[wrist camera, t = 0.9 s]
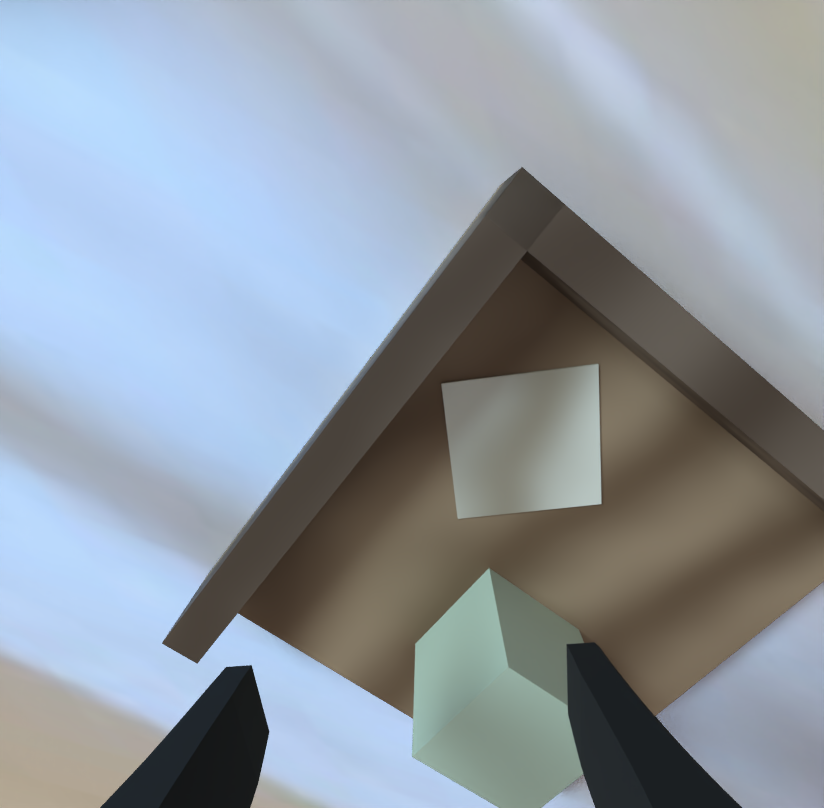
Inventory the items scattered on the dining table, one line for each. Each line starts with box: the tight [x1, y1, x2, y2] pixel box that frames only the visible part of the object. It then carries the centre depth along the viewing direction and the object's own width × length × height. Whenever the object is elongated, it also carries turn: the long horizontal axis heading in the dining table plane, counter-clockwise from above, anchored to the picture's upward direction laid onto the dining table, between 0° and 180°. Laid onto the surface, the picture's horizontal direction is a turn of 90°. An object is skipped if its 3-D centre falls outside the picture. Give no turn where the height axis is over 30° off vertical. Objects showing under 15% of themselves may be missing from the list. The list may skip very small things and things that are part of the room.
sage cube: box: [412, 568, 584, 808], centre depth 19 cm, size 5×5×5 cm
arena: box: [162, 167, 824, 718], centre depth 19 cm, size 20×20×4 cm
